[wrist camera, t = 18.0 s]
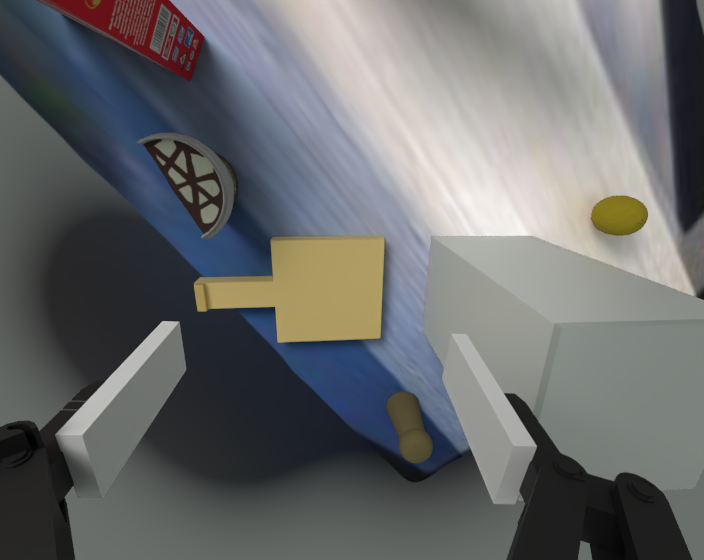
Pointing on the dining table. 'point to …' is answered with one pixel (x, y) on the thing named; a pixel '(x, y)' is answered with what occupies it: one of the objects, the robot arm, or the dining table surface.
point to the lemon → (619, 215)
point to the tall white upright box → (579, 350)
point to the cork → (409, 427)
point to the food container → (196, 178)
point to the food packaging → (140, 29)
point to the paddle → (311, 288)
